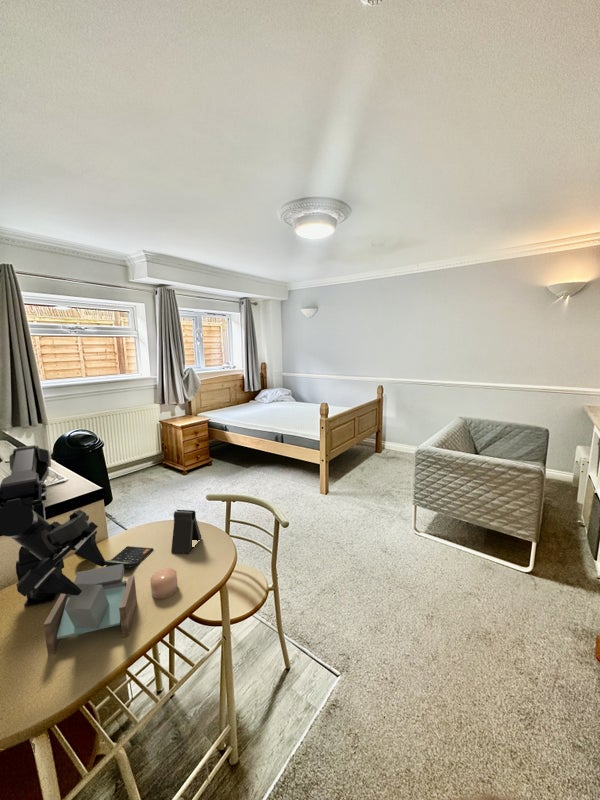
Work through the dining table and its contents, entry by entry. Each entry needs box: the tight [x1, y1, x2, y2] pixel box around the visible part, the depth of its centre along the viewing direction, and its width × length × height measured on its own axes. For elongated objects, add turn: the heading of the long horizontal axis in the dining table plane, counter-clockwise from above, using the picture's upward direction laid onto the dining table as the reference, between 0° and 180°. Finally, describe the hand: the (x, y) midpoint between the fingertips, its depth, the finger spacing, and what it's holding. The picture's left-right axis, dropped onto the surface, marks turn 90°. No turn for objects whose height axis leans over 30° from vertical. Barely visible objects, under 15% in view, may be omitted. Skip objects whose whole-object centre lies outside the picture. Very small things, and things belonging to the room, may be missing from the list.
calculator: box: [104, 545, 154, 568], centre depth 102 cm, size 9×12×3 cm
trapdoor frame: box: [43, 574, 138, 656], centre depth 77 cm, size 15×11×7 cm
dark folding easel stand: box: [170, 509, 203, 555], centre depth 108 cm, size 9×6×12 cm, turn 171°
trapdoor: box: [56, 564, 127, 639], centre depth 77 cm, size 12×14×2 cm
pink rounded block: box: [149, 567, 179, 600], centre depth 88 cm, size 6×6×4 cm
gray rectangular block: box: [65, 584, 109, 628], centre depth 72 cm, size 5×5×8 cm
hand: (93, 578), depth 73 cm, fingers open, 9 cm apart
